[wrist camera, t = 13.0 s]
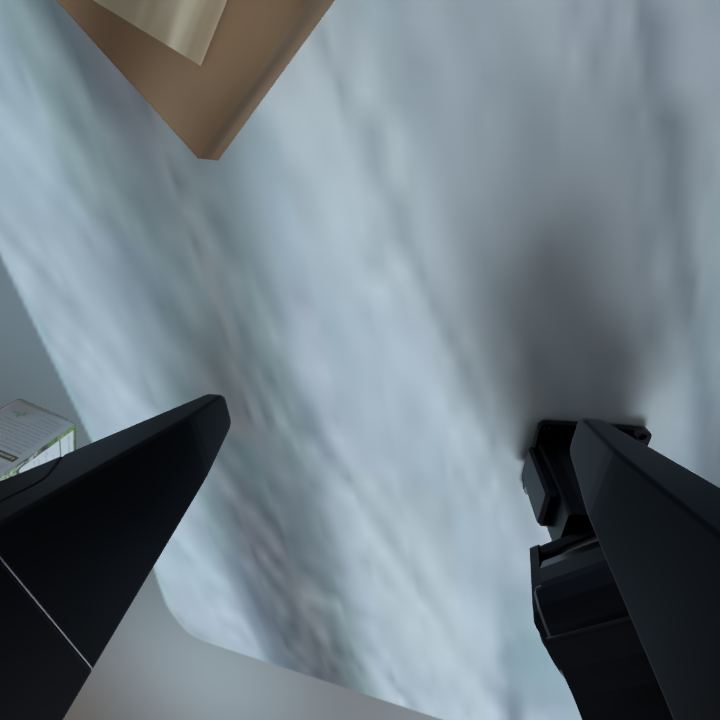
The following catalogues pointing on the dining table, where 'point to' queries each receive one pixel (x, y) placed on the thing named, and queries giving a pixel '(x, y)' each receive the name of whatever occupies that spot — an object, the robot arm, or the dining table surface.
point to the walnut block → (206, 64)
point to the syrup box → (32, 437)
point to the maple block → (173, 22)
